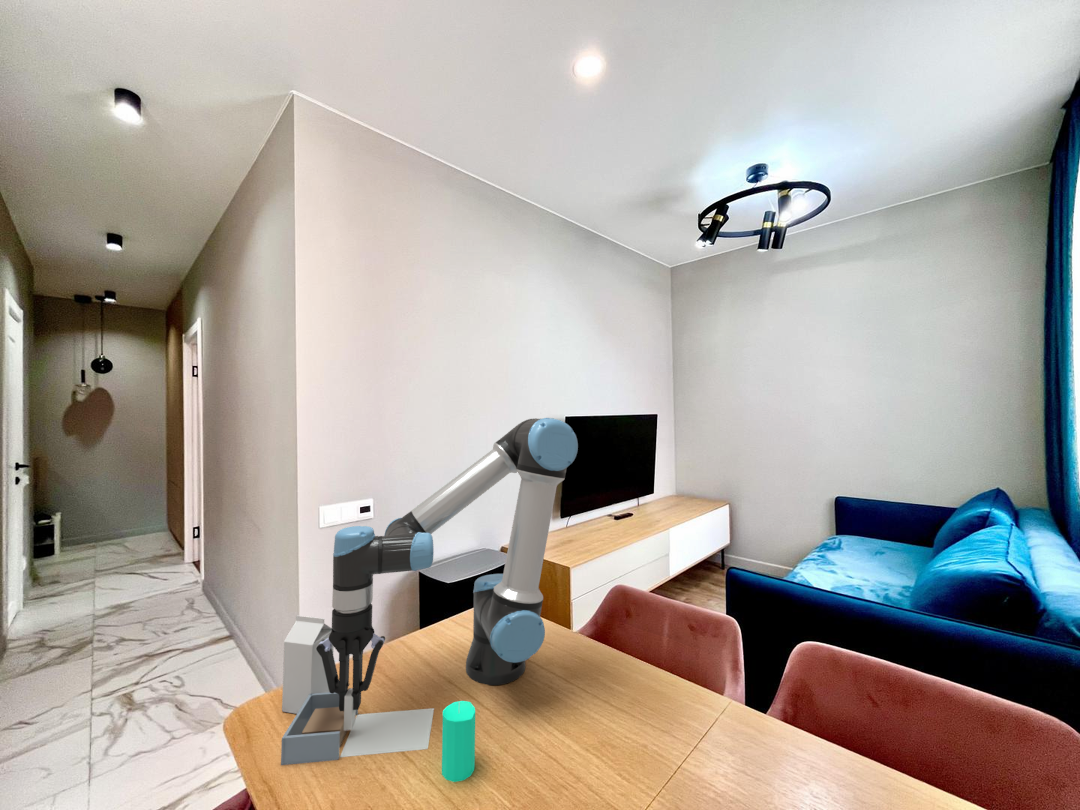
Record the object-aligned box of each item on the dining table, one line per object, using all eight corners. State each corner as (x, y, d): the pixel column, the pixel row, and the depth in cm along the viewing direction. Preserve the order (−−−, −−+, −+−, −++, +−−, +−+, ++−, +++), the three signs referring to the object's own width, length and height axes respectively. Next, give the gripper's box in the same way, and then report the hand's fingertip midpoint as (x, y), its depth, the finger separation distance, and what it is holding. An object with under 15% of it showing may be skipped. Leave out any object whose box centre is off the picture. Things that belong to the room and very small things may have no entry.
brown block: (350, 725, 91) (350, 705, 91) (339, 750, 84) (340, 729, 84) (314, 728, 90) (315, 708, 90) (301, 754, 83) (301, 732, 83)
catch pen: (357, 714, 94) (358, 690, 94) (338, 761, 81) (338, 733, 81) (308, 718, 92) (309, 693, 93) (280, 766, 79) (281, 738, 80)
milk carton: (310, 716, 93) (312, 625, 94) (281, 712, 94) (284, 622, 95) (332, 696, 100) (334, 611, 101) (305, 692, 101) (307, 609, 102)
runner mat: (434, 709, 95) (434, 708, 95) (427, 750, 84) (427, 748, 84) (357, 715, 93) (357, 714, 93) (339, 758, 81) (339, 757, 81)
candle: (446, 788, 75) (447, 716, 75) (437, 764, 80) (438, 697, 81) (479, 775, 78) (480, 706, 78) (468, 753, 83) (469, 688, 84)
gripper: (389, 596, 93) (387, 710, 92) (325, 599, 91) (321, 715, 90) (382, 612, 86) (379, 735, 85) (311, 615, 84) (307, 742, 83)
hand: (349, 725), depth 87 cm, fingers closed
